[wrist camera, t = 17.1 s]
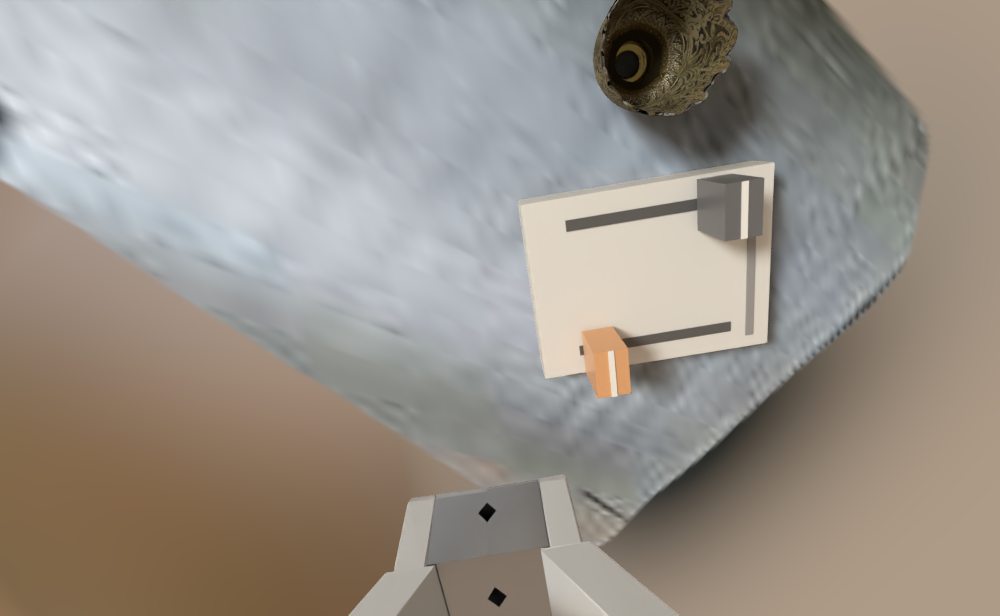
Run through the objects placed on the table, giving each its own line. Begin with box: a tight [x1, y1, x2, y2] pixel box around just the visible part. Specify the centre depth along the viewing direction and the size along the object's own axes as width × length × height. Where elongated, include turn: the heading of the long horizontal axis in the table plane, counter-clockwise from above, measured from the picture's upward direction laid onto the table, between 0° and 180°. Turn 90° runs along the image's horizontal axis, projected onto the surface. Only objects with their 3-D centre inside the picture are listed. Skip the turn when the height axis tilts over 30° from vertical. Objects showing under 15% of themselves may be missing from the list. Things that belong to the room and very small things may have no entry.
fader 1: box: [582, 326, 631, 398], centre depth 34 cm, size 4×2×4 cm, turn 9°
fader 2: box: [697, 173, 764, 241], centre depth 31 cm, size 4×2×4 cm, turn 9°
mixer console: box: [517, 161, 775, 379], centre depth 36 cm, size 14×18×3 cm
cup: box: [593, 0, 738, 116], centre depth 29 cm, size 8×7×8 cm
